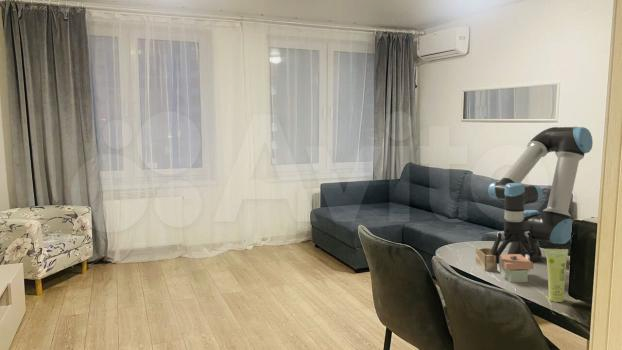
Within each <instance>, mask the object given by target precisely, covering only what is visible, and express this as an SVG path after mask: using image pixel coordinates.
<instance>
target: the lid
mask: <svg viewBox="0 0 622 350" xmlns="http://www.w3.org/2000/svg"><path fill="white" fill-rule="evenodd" d="M500 256H501V257H502V262H501V266H502V267H503V268H505V269H506V270H517V269H530V270H534V263H535V262H531V261H530V260H528V259H527V258H525V257H524V256H522V255H521V254H508V253H506V254H502V255H500Z"/></svg>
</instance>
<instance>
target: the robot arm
mask: <svg viewBox="0 0 622 350" xmlns="http://www.w3.org/2000/svg"><path fill="white" fill-rule="evenodd" d="M593 142H594V141H593V136H592V133H591V131H590V130H589V129H588V128H586V127H584V126H583V127H582V126H581V127H580V126H563V127H560V126H553V127H549V128H546V129H544V130H542V131H540V132H539V133H538V134H536V135H535V136H534V137H533V138H532V139H530V141H529V142H528V143H527V145H526V146H527V147H526V149H525V150H524V151H523V153H522V154H521V155H520V157H518V159H516V160H515V162H514V163H513V165H512V166H511V167H510V169H508V171H507V172H506V173H505V174H504V176H502V178H501V179H500V180H499V182H497V181H496V182H493V181H492V182H491V183H490V184H489V186H488V189H487V193H488V196H489V197H490V199H491V198H492V199H495V200H501V201H504V221H503V222H504V225H503V227H504V229H503V230H504V231H503V232H499V231H497V232H496V233H495V234H496V237H495V239H494V242H493V245H492V247H491V248H492V250H491V254H492V255H495V262H496V263H497V270H498V272H499V273H500V272H501V267H502V266H501V262H502V257H501V256H500V255H501V254H503V252H504V250H505V249H506V248H507V246H508V245H509V247H508V249H507V254H521V255H522V256H524V257H525V258H527V259H528V260H530V261H531V262H532V263H538V262H540V261H542V259H543V254H542V250H541V248H540V244H539V241H542V242H543V241H544V242H549V243H551V244H558V245H564V244H566V243H568V242H569V241H570V240H571V239H572V237H571V232H572V222H574V221H573V220H572V215H571V214H570V213H569V209H570V204H571V202H572V201H571V200H572V195H573V191H574V186H575V182H576V176H577V173H578V167H579V163H580V161H581V160H582V159H583V160H584V157H585V154H588V153H590V152H591V150H593V149H592V148H593ZM552 152H555V153H554V154H555V155H556V157H557V162H556V166H555V170H554V174H553V178H552V184H551V187H550V193H549V198H548V203H547V207H546V208H544V209H543V210H542V213H541V214H540V211H539V210H537V209H536V210H535V209H525V205H528V204H534V203H537V202H540V201H541V200H542V199H543V195H544V192H543V190H542V188H541V187H540V186H539V185H536V184H530V185H525V184H523V183H522V182H523V181H524V179H526V177H527V175H529V174H530V173H531V172H532V170H533V168H534V167H535V166H536V165H537V164H538V162H539V161H540V160H541V159H542V158H544V157H546V156H547V155H548V154H549V153H552ZM503 236H504V239H502V238H503ZM501 241H502V242H501ZM527 270H528V272H530V271H531V269H527Z"/></svg>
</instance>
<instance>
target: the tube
mask: <svg viewBox="0 0 622 350" xmlns="http://www.w3.org/2000/svg"><path fill="white" fill-rule="evenodd" d="M544 250H545V256H546V264H547V281H548V283H547V284H548V287H547V288H548V300H549V301H551V302H555V303H562V302H564V299H565V285H566V284H565V283H566V282H565V281H566V272H567V271H566V270H567V261H568V254H569V249H568V248H566V249H564V248H561V249H560V248H545V249H544Z"/></svg>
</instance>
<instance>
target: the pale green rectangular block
mask: <svg viewBox="0 0 622 350" xmlns="http://www.w3.org/2000/svg"><path fill="white" fill-rule="evenodd" d="M528 273H529V271H528V270H527V269H517V270H506V269H505V268H503V267H501V272H499V274H500V275H502V276H503V278H505V280H507V281H508V282H509V283H528V282H529V279H528V277H529V276H528V275H529V274H528Z"/></svg>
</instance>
